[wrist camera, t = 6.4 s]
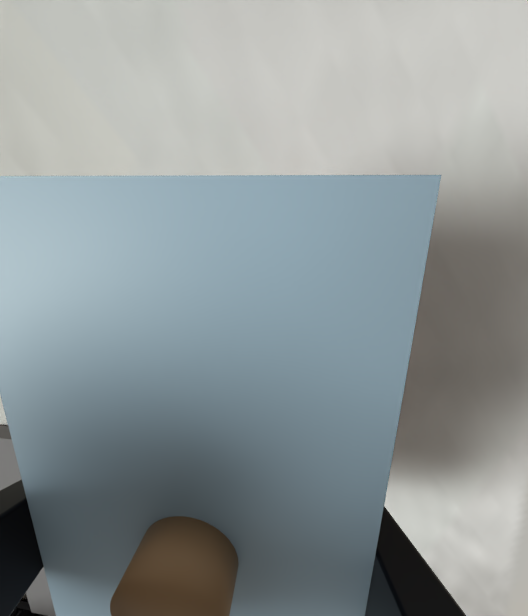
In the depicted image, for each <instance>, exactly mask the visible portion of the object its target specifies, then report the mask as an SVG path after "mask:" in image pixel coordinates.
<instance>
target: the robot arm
mask: <svg viewBox="0 0 528 616" xmlns="http://www.w3.org/2000/svg"><path fill="white" fill-rule="evenodd" d="M43 567H44V566H43V562H42V558H41V554H40V550H39V546H38V542H37V538H36V534H35V530H34V526H33V522H32V518H31V514H30V510H29V506H28V502H27V498H26V494H25V490H24V486H23V482H22V479H21V480H19V481H17V482H15V483H14V484H12V485H10V486H8V487H6V488H4V489H2V490H0V616H46V615H41V614H37V613H32V612H31V609H30V606H29V603H28V602H23V601H20V600H21V599H22V597H23V596H24V594H25V593H26V591H27V590H28V589H29V587H30V586H31V584H32V583H33V581H34V580H35V578H36V577H37V575H38V574H39V573H40V571H41V570H42V568H43ZM365 616H466V615H465V613H464V612H463V611H462V609H461V608H460V607H459V605H458V604H457V603H456V601H455V600H454V599H453V597H452V596H451V595H450V593H449V592H448V591H447V589H446V588H445V587H444V585H443V584H442V583H441V581H440V580H439V579H438V577H437V576H436V575H435V573H434V572H433V571H432V569H431V568H430V567H429V565H428V564H427V563H426V561H425V560H424V559H423V557H422V556H421V555H420V553H419V552H418V551H417V549H416V548H415V547H414V545H413V544H412V543H411V541H410V540H409V539H408V537H407V536H406V535H405V533H404V532H403V531H402V529H401V528H400V527H399V525H398V524H397V523H396V521H395V520H394V519H393V517H392V516H391V515H390V513H389V512H388V511H387V509H386V508H385V507H384V508H383V514H382V520H381V525H380V531H379V537H378V543H377V549H376V554H375V560H374V566H373V572H372V577H371V583H370V589H369V595H368V600H367V606H366V612H365Z"/></svg>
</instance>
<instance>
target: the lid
mask: <svg viewBox="0 0 528 616" xmlns="http://www.w3.org/2000/svg"><path fill="white" fill-rule="evenodd" d="M440 179H441V175H249V176H0V395H1V399H2V403H3V407H4V411H5V415H6V419H7V423H8V427H9V431H10V435H11V439H12V443H13V447H14V451H15V455H16V458H17V462H18V466H19V470H20V474H21V478H22V482H23V486H24V490H25V494H26V498H27V502H28V506H29V510H30V514H31V518H32V522H33V526H34V530H35V534H36V538H37V542H38V546H39V550H40V554H41V558H42V562H43V566H44V570H45V574H46V578H47V582H48V586H49V590H50V594H51V598H52V602H53V606H54V610H55V614H56V616H365V612H366V606H367V600H368V595H369V589H370V583H371V577H372V572H373V566H374V560H375V554H376V549H377V543H378V537H379V531H380V525H381V520H382V514H383V508H384V502H385V497H386V491H387V485H388V479H389V474H390V468H391V462H392V456H393V450H394V445H395V439H396V433H397V427H398V422H399V416H400V410H401V404H402V398H403V393H404V387H405V381H406V375H407V370H408V364H409V358H410V352H411V347H412V341H413V335H414V329H415V323H416V318H417V312H418V306H419V300H420V295H421V289H422V283H423V277H424V272H425V266H426V260H427V254H428V248H429V243H430V237H431V231H432V225H433V220H434V214H435V208H436V202H437V196H438V191H439V185H440Z"/></svg>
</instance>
